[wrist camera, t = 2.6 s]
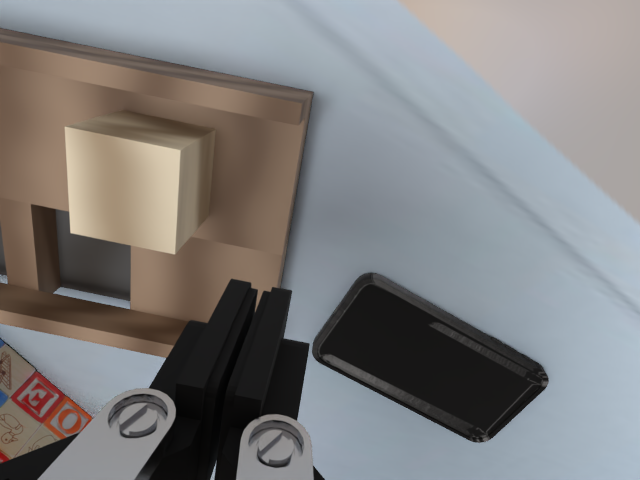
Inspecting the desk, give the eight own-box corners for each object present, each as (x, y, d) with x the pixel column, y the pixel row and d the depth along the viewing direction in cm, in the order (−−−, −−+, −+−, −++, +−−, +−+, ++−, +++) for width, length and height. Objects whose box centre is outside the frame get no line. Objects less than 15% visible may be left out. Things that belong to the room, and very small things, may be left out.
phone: (482, 447, 33) (306, 356, 31) (478, 434, 34) (307, 346, 32) (557, 377, 30) (366, 271, 28) (550, 366, 31) (366, 263, 29)
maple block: (216, 129, 23) (180, 150, 19) (208, 216, 26) (174, 254, 21) (122, 109, 23) (64, 126, 19) (122, 198, 26) (70, 232, 21)
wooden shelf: (313, 91, 25) (302, 103, 20) (273, 327, 31) (258, 376, 27) (-148, -2, 25) (-263, -12, 20) (-91, 252, 31) (-167, 288, 27)
